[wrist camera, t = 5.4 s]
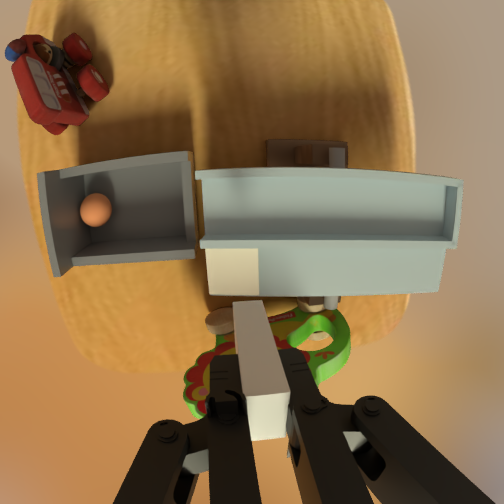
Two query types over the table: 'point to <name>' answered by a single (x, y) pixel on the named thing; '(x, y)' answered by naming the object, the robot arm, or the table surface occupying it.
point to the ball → (95, 209)
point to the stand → (302, 156)
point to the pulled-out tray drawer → (122, 211)
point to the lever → (327, 230)
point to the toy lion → (285, 335)
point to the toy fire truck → (54, 80)
